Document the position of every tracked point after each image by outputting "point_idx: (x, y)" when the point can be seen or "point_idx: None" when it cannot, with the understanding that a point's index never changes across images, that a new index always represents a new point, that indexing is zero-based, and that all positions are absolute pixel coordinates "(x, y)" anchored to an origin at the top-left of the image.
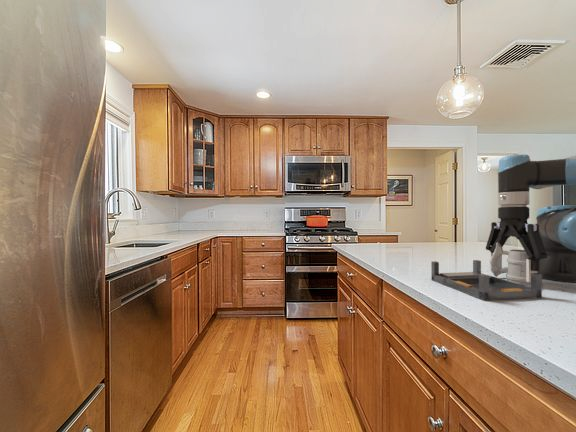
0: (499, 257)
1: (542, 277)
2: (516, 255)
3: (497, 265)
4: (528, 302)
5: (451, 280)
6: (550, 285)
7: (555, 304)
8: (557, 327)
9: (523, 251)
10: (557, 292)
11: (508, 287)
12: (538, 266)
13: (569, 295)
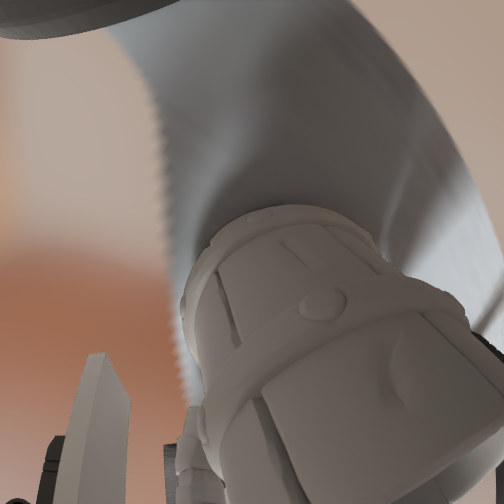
0: (98, 485)
1: (130, 15)
2: (403, 501)
3: (209, 470)
4: None
5: None
6: (349, 135)
7: (499, 338)
8: None
9: (339, 499)
10: (457, 236)
11: None
12: (492, 352)
13: (487, 224)
